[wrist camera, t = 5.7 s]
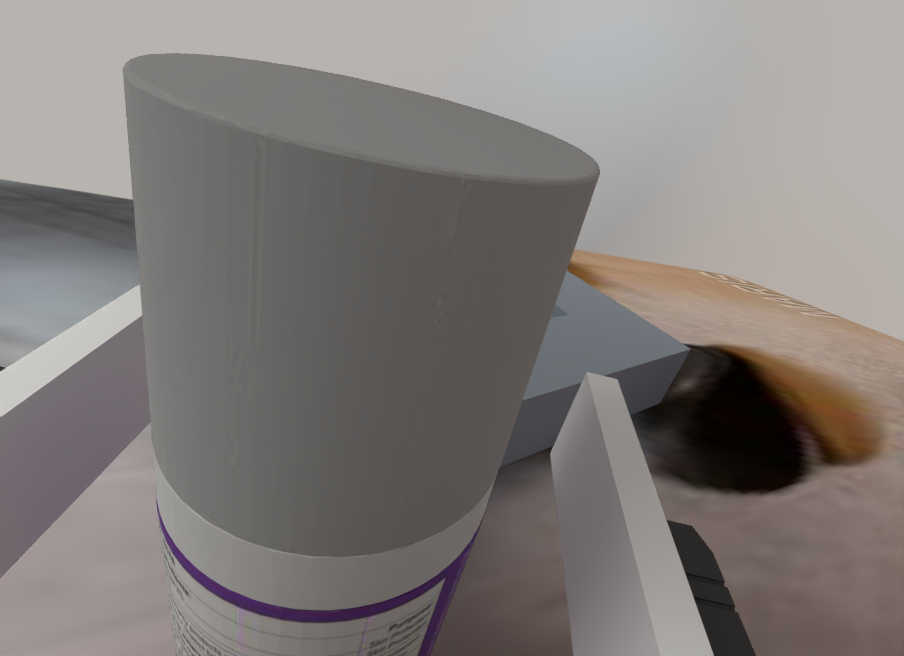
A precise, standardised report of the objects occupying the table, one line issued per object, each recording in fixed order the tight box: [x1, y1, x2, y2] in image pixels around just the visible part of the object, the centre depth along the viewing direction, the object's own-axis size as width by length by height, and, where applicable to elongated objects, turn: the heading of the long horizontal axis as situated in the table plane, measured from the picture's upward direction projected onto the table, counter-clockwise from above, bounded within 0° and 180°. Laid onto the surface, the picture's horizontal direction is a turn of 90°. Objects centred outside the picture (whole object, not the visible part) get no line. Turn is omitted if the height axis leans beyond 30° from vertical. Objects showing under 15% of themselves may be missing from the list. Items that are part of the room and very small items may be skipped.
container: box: [123, 53, 600, 656], centre depth 9 cm, size 5×5×15 cm
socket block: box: [500, 271, 690, 467], centre depth 29 cm, size 18×18×4 cm
